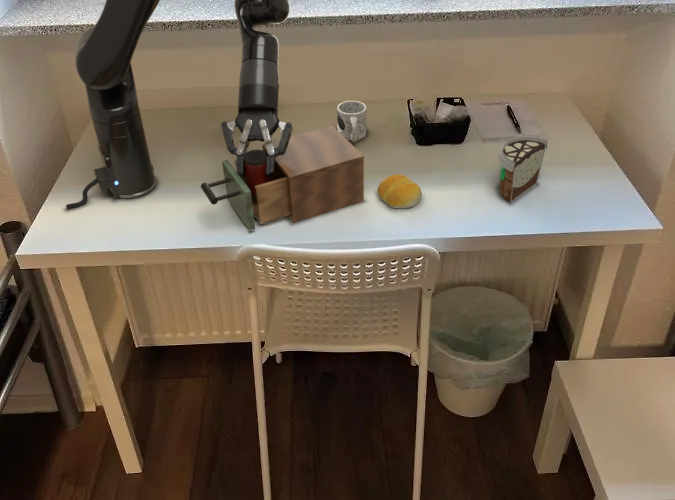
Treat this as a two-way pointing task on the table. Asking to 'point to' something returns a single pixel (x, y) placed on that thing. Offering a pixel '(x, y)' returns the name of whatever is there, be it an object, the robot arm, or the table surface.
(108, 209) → the table surface
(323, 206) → the cabinet
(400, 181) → the bread roll
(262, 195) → the drawer
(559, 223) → the table surface
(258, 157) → the red canister
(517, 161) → the food container
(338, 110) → the mug
